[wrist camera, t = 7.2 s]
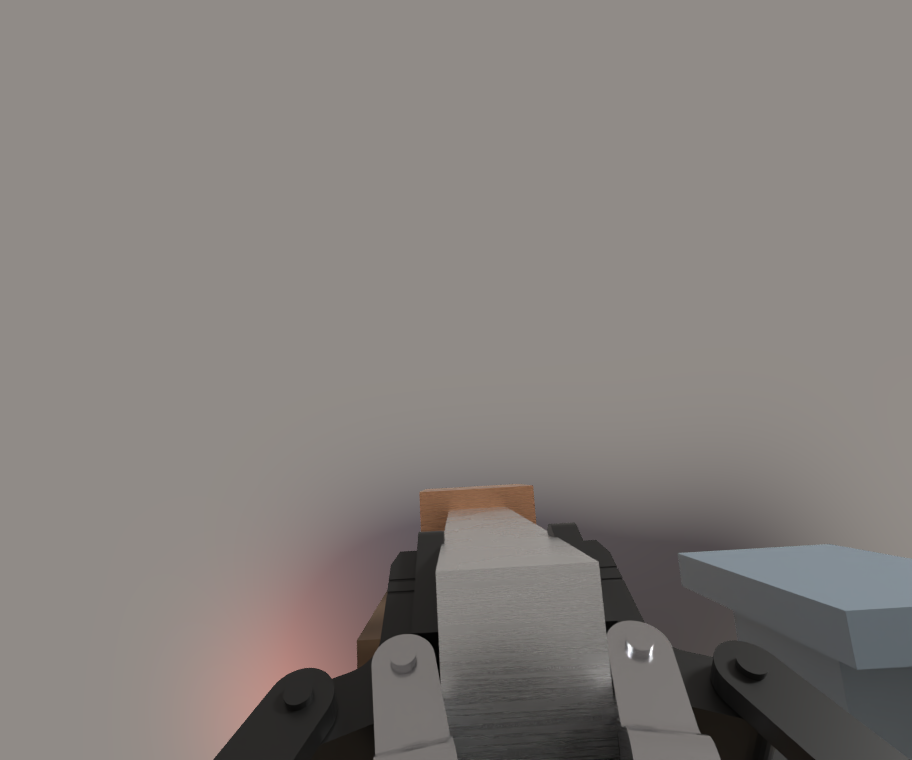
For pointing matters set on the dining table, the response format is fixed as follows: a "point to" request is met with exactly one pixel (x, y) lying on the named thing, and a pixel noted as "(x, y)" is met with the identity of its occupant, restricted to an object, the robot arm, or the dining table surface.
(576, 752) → the bar
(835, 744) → the robot arm
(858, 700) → the post
